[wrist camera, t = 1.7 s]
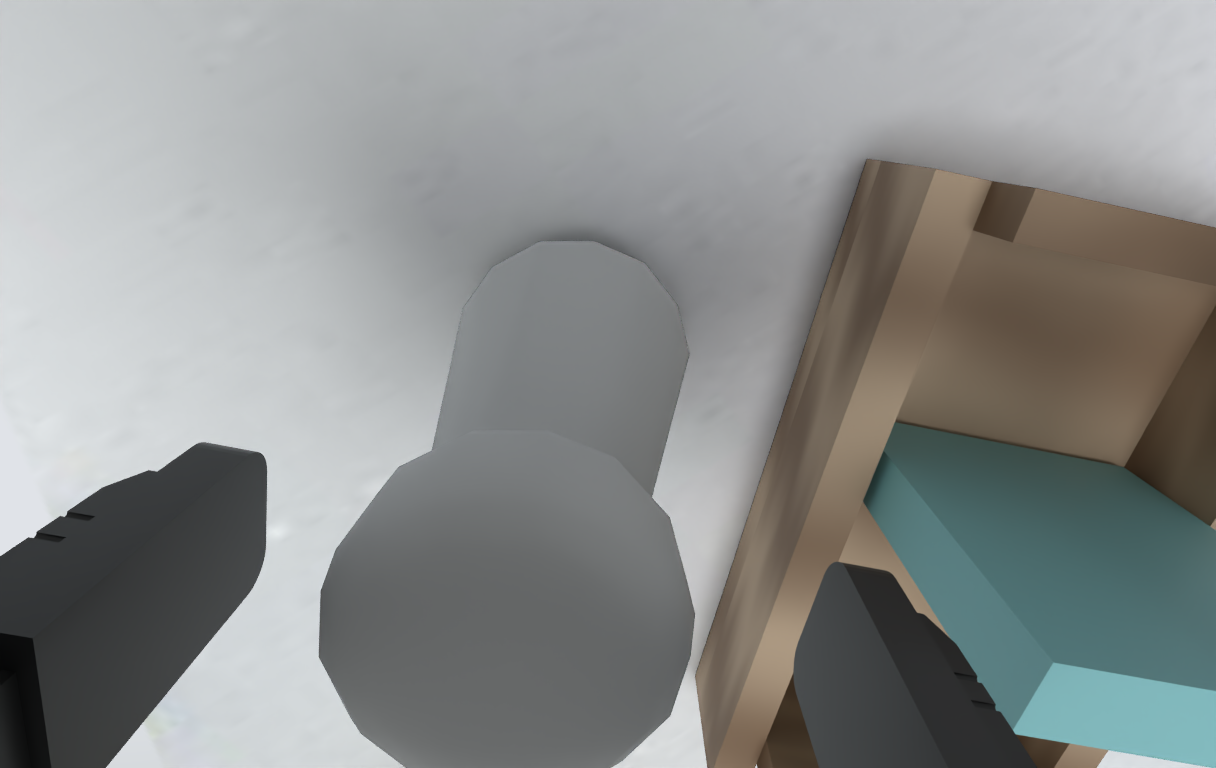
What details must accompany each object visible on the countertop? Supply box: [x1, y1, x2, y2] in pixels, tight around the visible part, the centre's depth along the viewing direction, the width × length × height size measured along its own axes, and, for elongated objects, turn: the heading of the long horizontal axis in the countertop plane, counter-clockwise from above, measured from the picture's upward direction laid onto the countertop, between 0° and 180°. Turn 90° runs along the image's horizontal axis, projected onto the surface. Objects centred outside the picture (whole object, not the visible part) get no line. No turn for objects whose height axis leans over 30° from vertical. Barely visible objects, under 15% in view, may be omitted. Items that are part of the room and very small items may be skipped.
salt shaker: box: [319, 241, 695, 768], centre depth 13 cm, size 6×6×13 cm
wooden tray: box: [695, 159, 1216, 768], centre depth 18 cm, size 18×11×6 cm, turn 169°
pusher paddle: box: [863, 422, 1216, 768], centre depth 13 cm, size 8×8×10 cm
